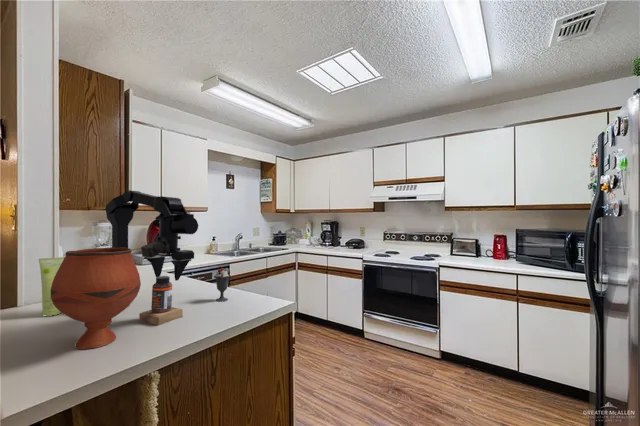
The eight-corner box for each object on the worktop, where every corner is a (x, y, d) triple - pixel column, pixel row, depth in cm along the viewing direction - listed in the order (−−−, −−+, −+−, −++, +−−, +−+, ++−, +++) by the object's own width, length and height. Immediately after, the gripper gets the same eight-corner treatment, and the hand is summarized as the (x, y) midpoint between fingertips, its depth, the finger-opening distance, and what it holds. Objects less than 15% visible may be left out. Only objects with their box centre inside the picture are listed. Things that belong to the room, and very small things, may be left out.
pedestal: (139, 320, 91) (139, 312, 91) (163, 312, 100) (164, 305, 100) (158, 325, 88) (158, 316, 88) (182, 316, 96) (182, 308, 96)
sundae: (210, 301, 114) (211, 264, 114) (218, 297, 121) (219, 262, 121) (225, 302, 113) (226, 265, 113) (232, 298, 119) (233, 263, 120)
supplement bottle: (146, 312, 91) (148, 278, 92) (160, 307, 97) (161, 274, 98) (162, 314, 90) (163, 279, 91) (175, 308, 96) (176, 275, 96)
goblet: (126, 323, 89) (129, 245, 90) (149, 340, 77) (152, 250, 77) (41, 343, 74) (46, 248, 75) (53, 368, 62) (59, 255, 63)
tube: (49, 317, 92) (52, 258, 93) (35, 317, 93) (38, 258, 93) (66, 312, 98) (69, 256, 99) (53, 311, 98) (55, 256, 99)
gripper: (127, 233, 92) (125, 280, 92) (166, 235, 85) (165, 286, 84) (158, 232, 102) (156, 274, 102) (196, 234, 95) (194, 280, 95)
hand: (167, 278), depth 95 cm, fingers open, 9 cm apart
